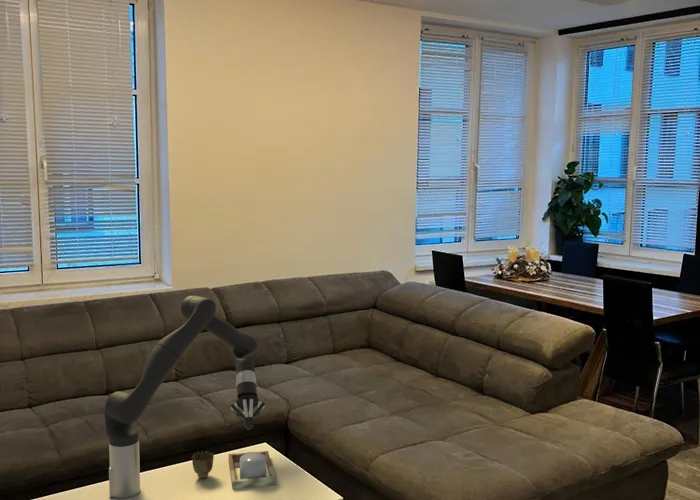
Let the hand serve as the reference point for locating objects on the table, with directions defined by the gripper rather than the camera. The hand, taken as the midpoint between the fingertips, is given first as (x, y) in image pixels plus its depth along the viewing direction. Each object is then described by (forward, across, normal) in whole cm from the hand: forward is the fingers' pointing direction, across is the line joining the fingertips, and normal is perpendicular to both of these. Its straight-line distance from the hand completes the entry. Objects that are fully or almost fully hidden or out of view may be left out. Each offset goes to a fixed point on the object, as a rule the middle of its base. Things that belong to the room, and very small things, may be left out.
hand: (249, 428), depth 243 cm
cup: (+15, -17, +3) cm, 23 cm away
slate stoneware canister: (+19, 0, 0) cm, 19 cm away
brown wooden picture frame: (+15, 0, +3) cm, 15 cm away
